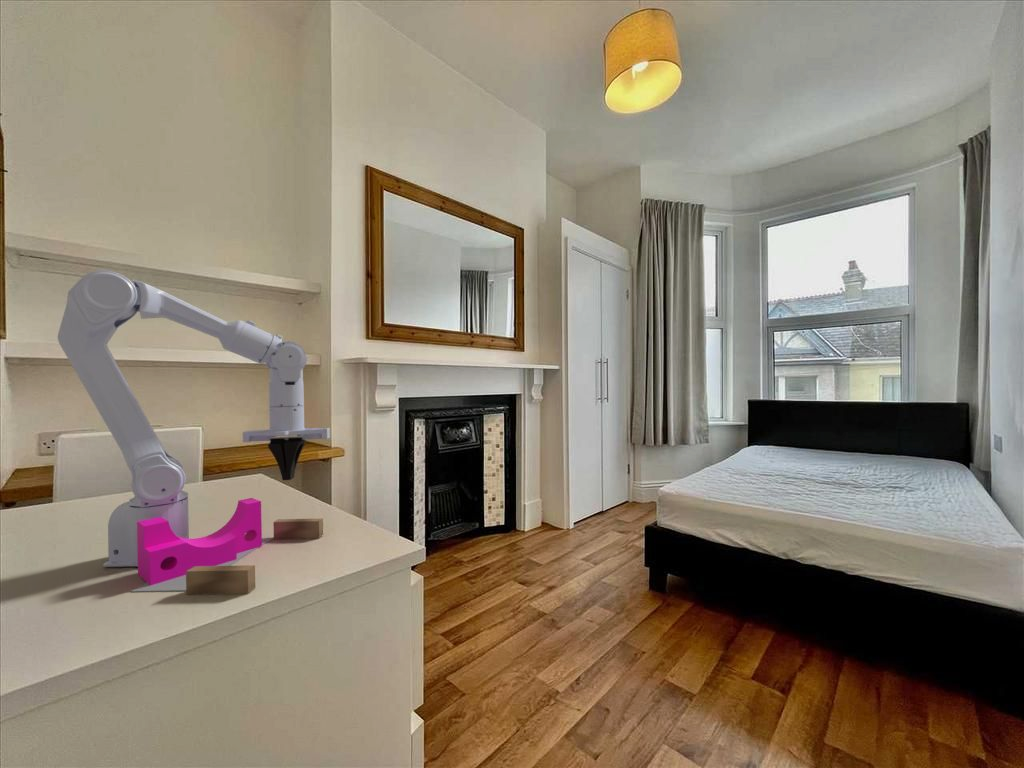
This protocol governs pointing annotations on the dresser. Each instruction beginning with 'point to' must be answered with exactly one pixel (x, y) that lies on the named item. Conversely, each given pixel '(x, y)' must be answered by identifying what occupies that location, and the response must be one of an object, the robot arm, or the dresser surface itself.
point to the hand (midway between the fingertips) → (288, 479)
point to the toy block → (195, 544)
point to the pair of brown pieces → (244, 576)
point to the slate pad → (180, 582)
